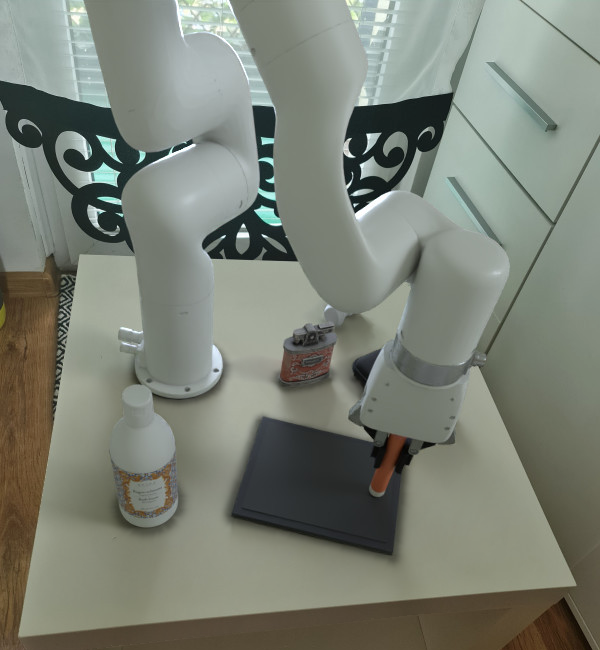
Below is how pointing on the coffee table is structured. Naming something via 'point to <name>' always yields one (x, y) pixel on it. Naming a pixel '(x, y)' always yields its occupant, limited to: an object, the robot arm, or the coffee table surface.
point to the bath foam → (143, 461)
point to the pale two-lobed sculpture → (334, 315)
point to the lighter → (307, 355)
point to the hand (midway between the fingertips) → (388, 461)
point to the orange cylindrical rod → (387, 465)
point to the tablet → (317, 487)
